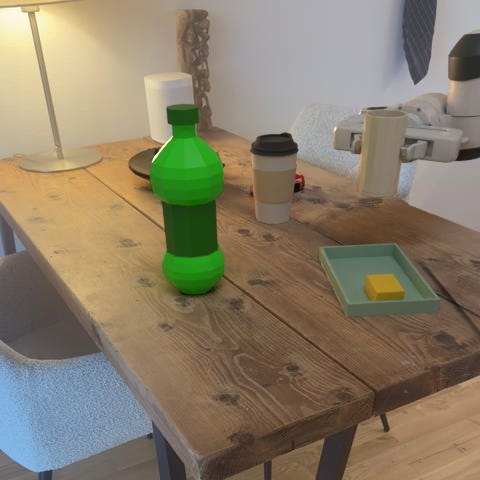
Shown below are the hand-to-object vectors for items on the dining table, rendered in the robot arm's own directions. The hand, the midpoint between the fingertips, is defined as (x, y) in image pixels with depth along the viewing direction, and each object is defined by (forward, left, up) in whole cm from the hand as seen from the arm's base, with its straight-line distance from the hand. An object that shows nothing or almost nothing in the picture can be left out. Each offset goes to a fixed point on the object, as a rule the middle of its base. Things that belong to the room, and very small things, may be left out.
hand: (379, 151), depth 85 cm
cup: (-1, -1, -6) cm, 6 cm away
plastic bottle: (+29, +8, -17) cm, 35 cm away
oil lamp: (+32, -48, -17) cm, 61 cm away
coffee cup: (+13, -22, -17) cm, 31 cm away
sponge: (+2, +16, -16) cm, 23 cm away
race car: (+10, -39, -17) cm, 44 cm away
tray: (+2, +11, -17) cm, 20 cm away
